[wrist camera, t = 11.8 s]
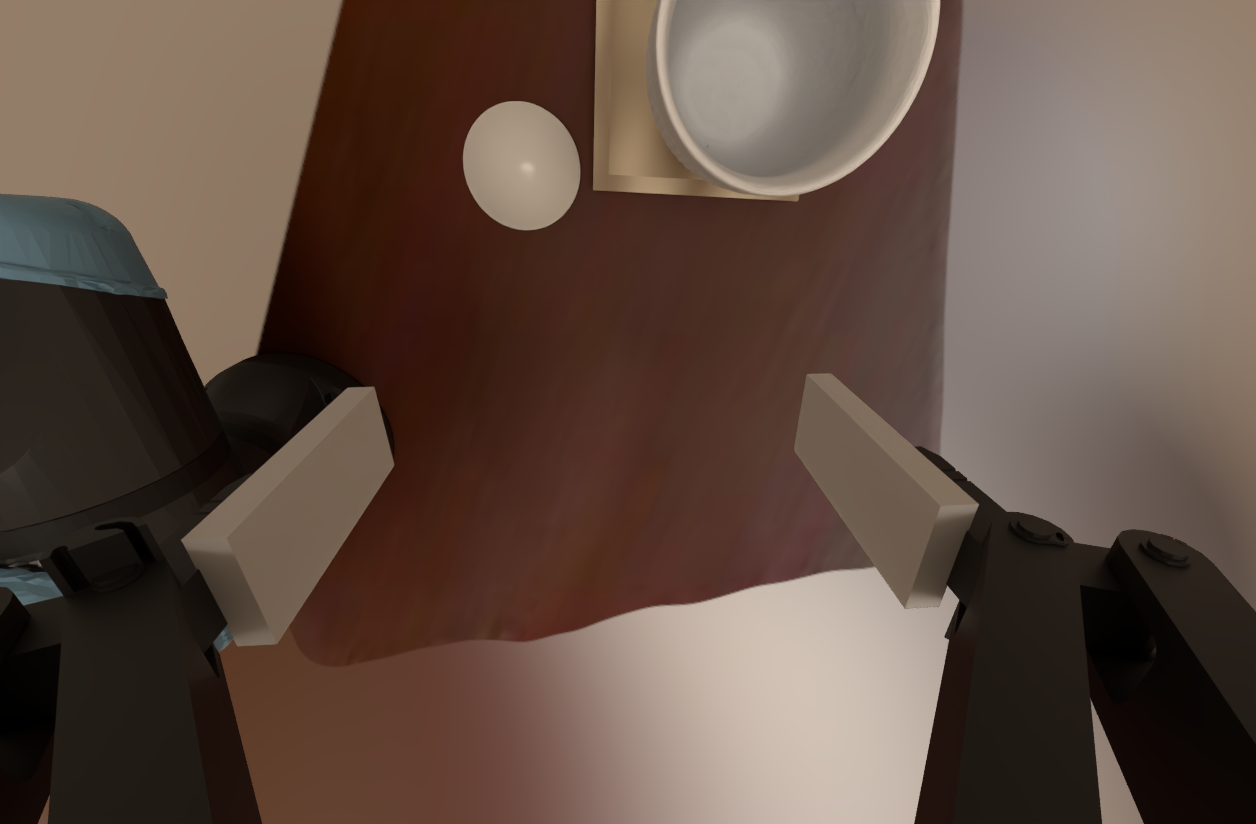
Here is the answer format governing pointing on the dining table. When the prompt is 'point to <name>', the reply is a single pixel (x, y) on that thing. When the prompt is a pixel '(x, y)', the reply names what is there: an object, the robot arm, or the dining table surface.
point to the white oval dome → (521, 165)
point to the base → (635, 112)
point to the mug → (784, 85)
